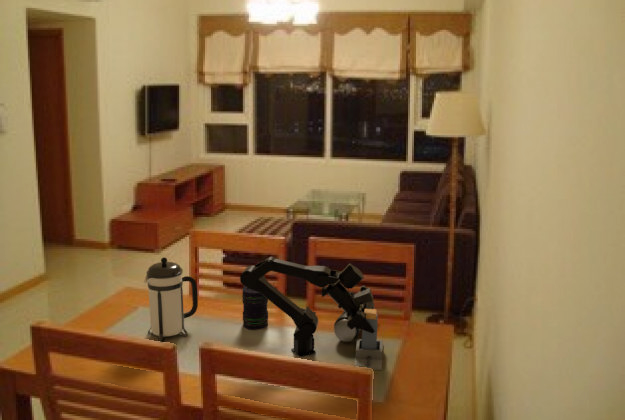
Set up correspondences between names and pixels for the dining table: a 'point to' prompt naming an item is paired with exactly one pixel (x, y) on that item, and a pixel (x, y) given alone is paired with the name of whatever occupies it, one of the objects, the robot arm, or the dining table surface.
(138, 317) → the dining table surface
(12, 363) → the dining table surface
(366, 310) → the orange-capped square pillar
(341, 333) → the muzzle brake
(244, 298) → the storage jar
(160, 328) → the coffee press
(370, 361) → the end holder
